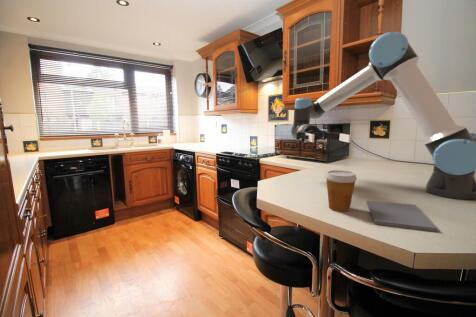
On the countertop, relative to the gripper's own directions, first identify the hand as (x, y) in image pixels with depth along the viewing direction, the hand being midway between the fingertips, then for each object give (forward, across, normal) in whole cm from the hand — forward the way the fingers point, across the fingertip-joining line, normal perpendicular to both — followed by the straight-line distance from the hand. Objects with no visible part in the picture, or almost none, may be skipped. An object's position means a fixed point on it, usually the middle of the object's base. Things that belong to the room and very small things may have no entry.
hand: (331, 138), depth 84 cm
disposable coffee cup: (+10, 0, -22) cm, 24 cm away
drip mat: (+18, -14, -21) cm, 31 cm away
